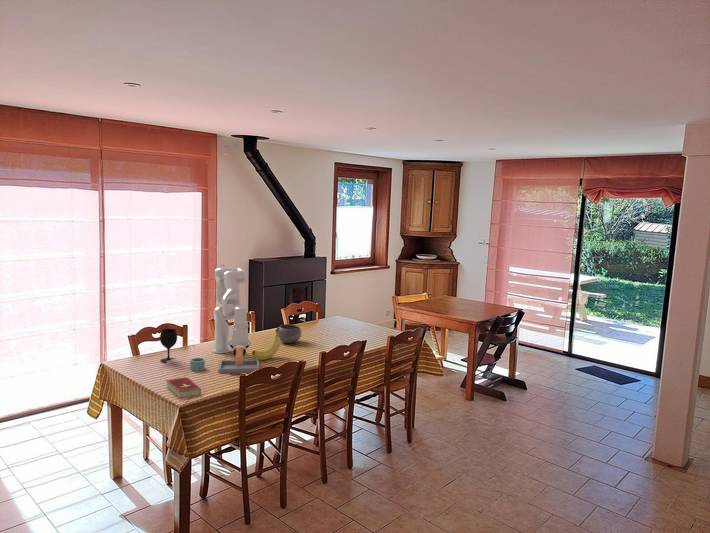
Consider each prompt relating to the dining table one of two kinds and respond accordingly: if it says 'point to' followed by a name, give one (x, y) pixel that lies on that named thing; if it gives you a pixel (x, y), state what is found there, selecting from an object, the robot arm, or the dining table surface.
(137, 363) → the dining table surface
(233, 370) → the tray
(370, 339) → the dining table surface
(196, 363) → the cup
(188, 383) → the hardcover book
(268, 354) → the banana
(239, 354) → the peg
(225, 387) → the dining table surface
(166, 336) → the wine glass
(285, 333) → the bowl
